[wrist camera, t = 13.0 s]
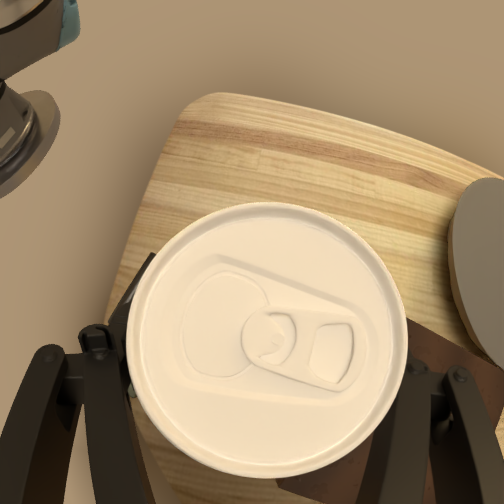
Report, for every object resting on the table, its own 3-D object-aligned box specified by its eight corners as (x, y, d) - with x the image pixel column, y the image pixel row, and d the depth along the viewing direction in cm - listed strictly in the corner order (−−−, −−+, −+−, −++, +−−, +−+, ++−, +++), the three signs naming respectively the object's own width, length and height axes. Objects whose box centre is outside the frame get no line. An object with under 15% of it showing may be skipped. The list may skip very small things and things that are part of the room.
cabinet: (264, 449, 27) (278, 487, 16) (332, 322, 31) (375, 300, 21) (395, 494, 24) (446, 526, 14) (449, 380, 29) (513, 375, 19)
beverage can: (205, 276, 20) (171, 159, 9) (329, 308, 20) (432, 230, 8) (169, 398, 17) (75, 434, 6) (298, 431, 17) (382, 506, 6)
